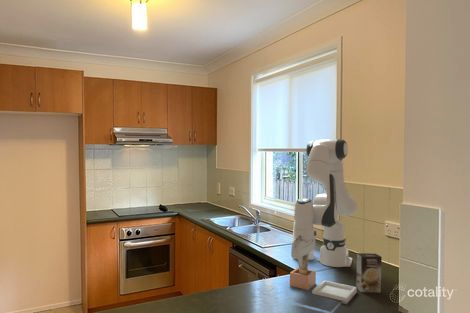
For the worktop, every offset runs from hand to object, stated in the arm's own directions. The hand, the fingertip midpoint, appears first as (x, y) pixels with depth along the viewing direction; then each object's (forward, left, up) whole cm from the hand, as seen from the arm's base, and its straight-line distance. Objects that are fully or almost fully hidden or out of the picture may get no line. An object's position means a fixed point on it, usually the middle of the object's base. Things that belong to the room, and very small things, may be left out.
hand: (303, 263), depth 168 cm
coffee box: (-14, +26, -11) cm, 31 cm away
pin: (0, 0, -8) cm, 8 cm away
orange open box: (0, 0, -11) cm, 11 cm away
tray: (0, +15, -11) cm, 18 cm away
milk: (-47, -20, -11) cm, 52 cm away
